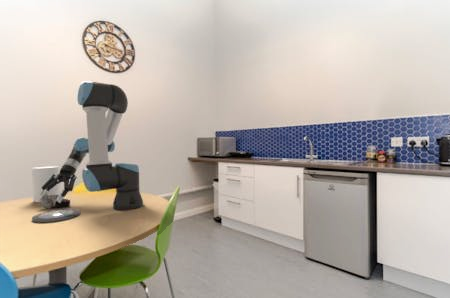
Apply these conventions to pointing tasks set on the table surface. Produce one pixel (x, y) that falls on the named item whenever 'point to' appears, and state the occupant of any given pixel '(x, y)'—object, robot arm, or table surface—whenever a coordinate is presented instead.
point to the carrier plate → (55, 215)
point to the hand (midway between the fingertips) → (49, 201)
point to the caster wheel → (53, 201)
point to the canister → (44, 180)
